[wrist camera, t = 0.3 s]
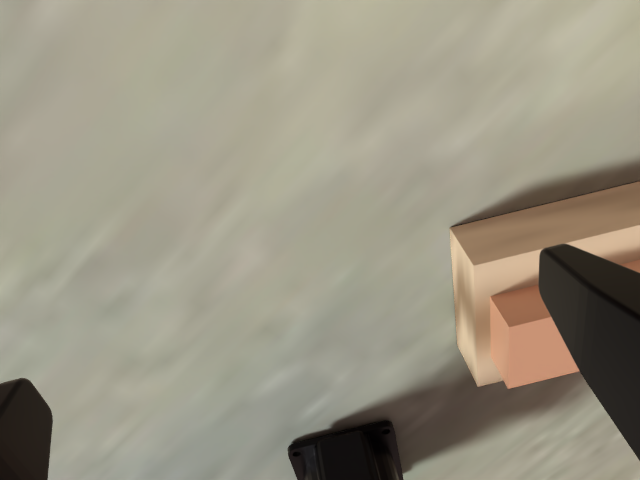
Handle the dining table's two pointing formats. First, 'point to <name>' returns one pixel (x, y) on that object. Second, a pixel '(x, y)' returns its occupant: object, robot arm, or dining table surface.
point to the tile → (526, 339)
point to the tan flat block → (531, 257)
